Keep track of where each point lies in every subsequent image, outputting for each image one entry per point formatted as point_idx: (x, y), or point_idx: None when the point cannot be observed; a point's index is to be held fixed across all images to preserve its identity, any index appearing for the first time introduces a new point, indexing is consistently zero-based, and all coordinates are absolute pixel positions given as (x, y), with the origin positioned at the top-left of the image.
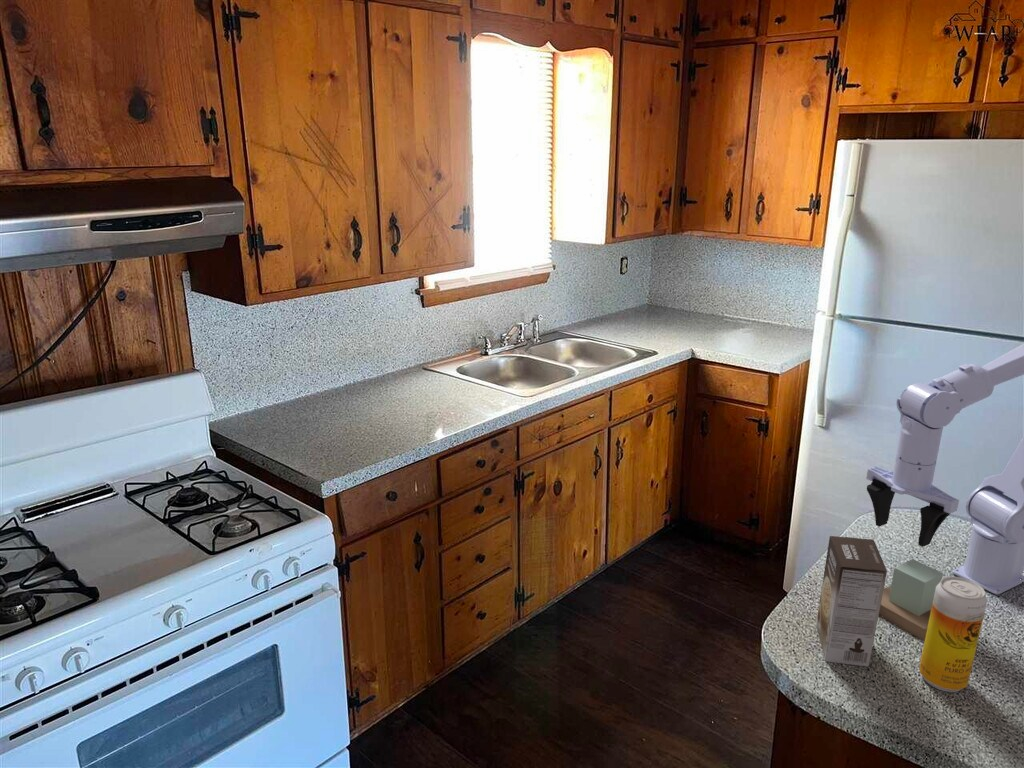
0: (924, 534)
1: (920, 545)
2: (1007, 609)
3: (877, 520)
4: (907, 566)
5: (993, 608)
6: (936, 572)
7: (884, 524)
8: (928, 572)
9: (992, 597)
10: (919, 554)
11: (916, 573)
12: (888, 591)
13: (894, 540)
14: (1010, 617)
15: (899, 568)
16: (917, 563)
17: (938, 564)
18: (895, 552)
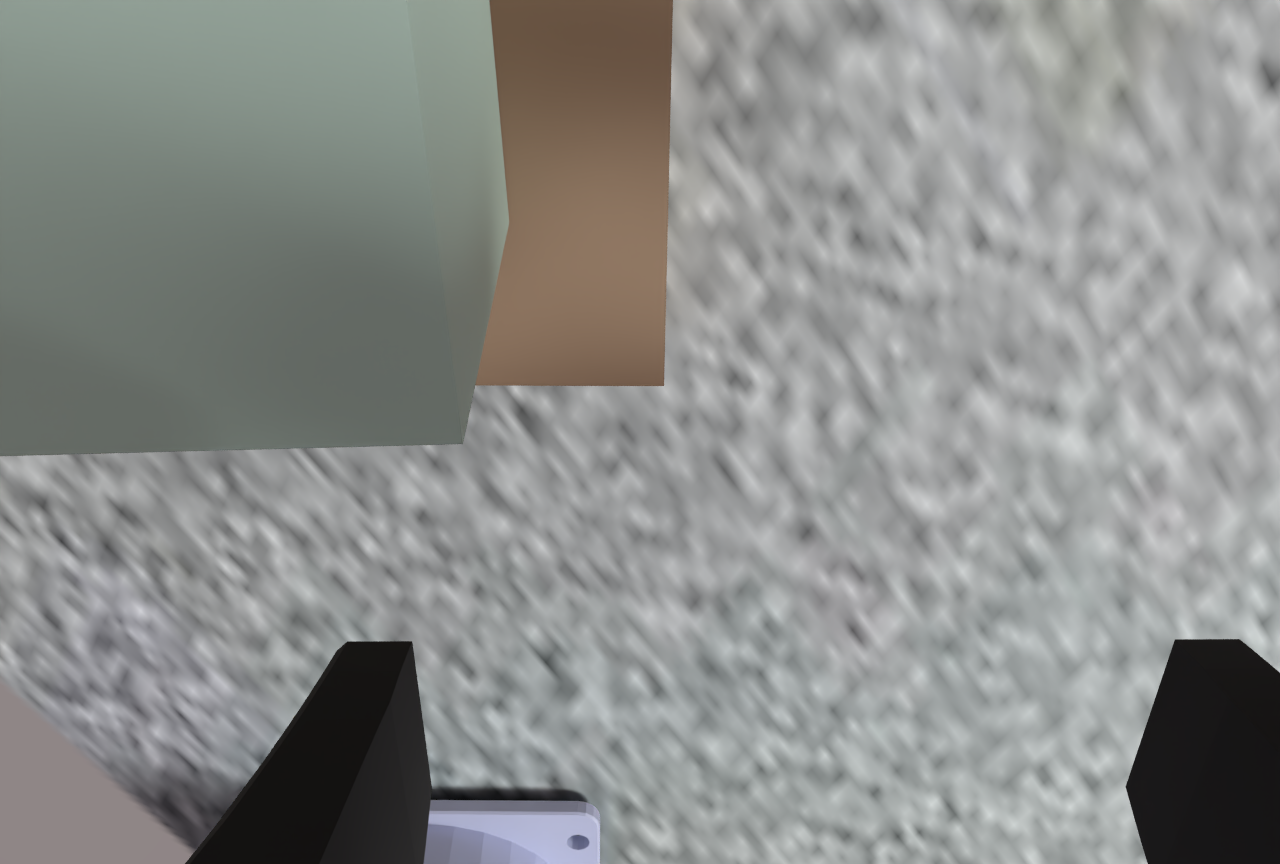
0: (230, 828)
1: (372, 647)
2: (100, 718)
3: (1272, 705)
4: (334, 186)
5: (143, 661)
6: (39, 399)
7: (1141, 749)
8: (75, 305)
9: (255, 761)
10: (882, 831)
11: (108, 115)
12: (606, 42)
13: (1105, 849)
14: (10, 656)
15: (347, 10)
16: (339, 392)
17: (723, 823)
18: (1017, 737)
